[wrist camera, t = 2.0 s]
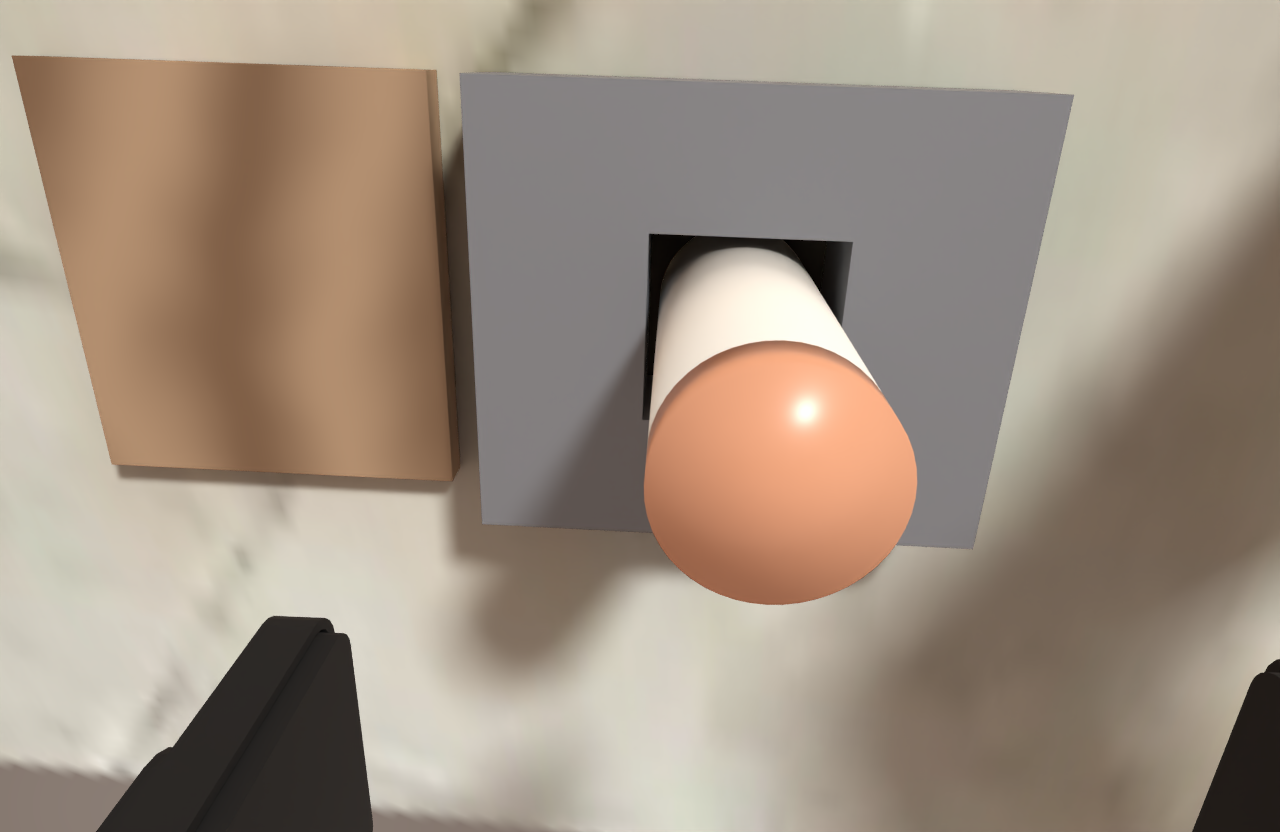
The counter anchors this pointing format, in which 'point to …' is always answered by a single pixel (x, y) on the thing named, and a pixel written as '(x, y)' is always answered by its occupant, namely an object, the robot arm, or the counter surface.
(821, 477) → the plug
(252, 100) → the board
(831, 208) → the socket block
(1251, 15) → the counter surface
